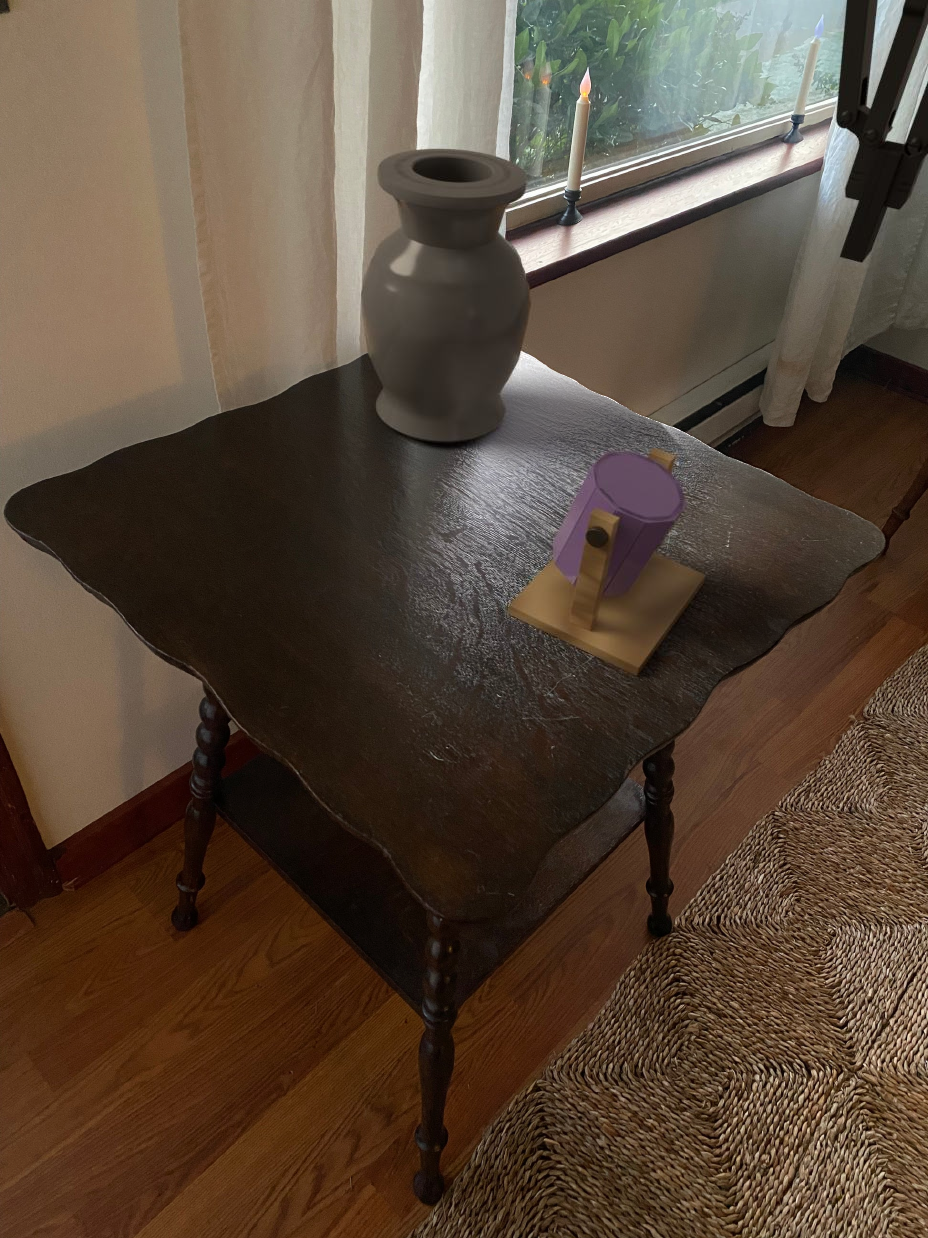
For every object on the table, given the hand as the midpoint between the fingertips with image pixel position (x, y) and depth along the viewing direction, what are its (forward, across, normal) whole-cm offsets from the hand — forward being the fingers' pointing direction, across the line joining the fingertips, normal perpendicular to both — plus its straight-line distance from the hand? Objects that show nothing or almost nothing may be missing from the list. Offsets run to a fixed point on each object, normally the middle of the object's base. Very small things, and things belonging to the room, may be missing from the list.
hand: (855, 253), depth 60 cm
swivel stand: (+29, -9, -8) cm, 32 cm away
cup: (+17, -8, -8) cm, 21 cm away
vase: (+30, -37, +8) cm, 48 cm away
